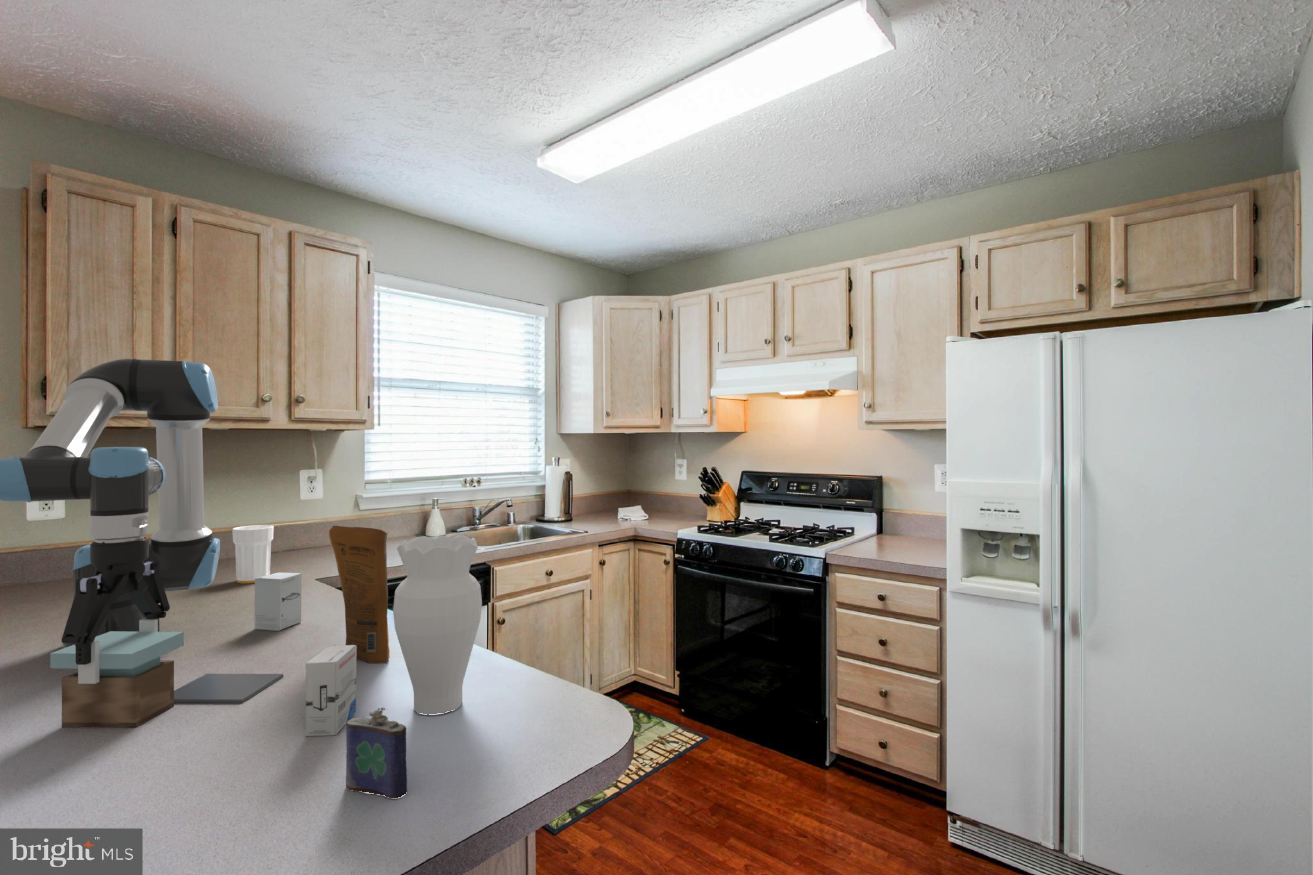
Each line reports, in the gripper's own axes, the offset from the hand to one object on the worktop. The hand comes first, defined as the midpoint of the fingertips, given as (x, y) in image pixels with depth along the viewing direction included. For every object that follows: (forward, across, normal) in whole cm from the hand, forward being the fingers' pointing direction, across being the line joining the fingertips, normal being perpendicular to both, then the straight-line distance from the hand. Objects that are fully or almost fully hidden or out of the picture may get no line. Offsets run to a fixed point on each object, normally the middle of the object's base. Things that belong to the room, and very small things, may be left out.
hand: (120, 668), depth 106 cm
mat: (+8, +11, -10) cm, 17 cm away
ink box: (+8, -3, -37) cm, 38 cm away
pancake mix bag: (+8, +29, -27) cm, 41 cm away
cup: (+9, +99, +42) cm, 108 cm away
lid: (-2, 0, 0) cm, 2 cm away
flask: (+8, -22, -53) cm, 58 cm away
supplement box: (+9, +50, +4) cm, 51 cm away
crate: (+8, 0, 0) cm, 8 cm away
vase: (+8, +4, -52) cm, 53 cm away
